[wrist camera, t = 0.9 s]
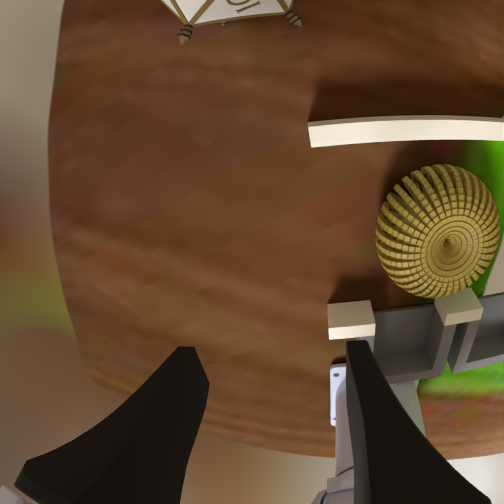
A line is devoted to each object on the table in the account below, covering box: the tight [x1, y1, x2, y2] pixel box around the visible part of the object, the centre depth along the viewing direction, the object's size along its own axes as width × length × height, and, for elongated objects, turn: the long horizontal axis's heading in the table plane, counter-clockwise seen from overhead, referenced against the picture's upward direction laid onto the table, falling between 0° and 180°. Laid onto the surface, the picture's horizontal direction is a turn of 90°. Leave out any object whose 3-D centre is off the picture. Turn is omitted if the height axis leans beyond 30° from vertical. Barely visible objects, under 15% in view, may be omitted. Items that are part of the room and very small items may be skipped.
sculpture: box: [376, 164, 500, 298], centre depth 16 cm, size 8×4×8 cm
